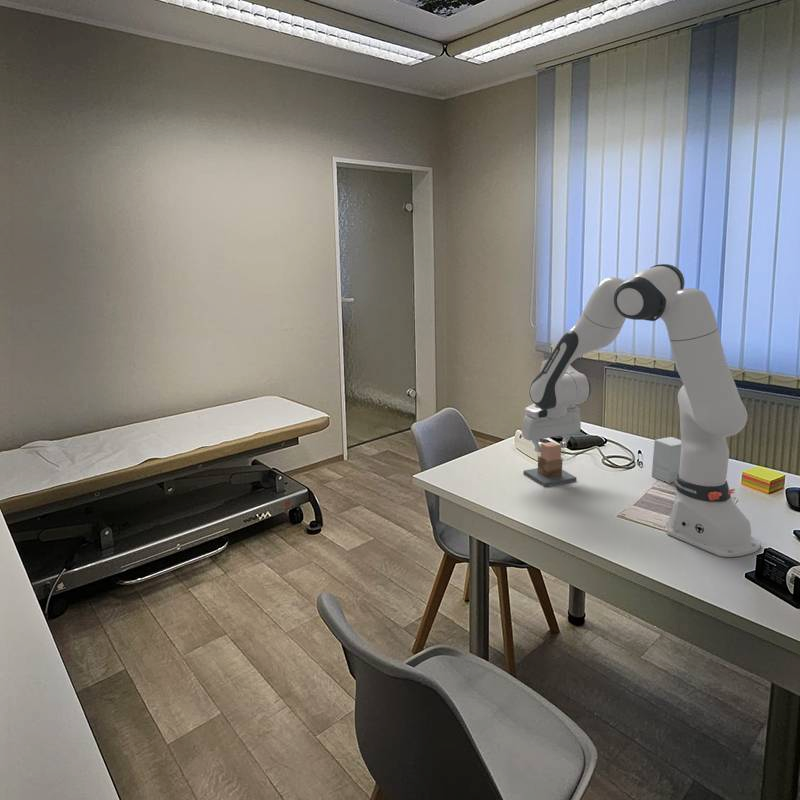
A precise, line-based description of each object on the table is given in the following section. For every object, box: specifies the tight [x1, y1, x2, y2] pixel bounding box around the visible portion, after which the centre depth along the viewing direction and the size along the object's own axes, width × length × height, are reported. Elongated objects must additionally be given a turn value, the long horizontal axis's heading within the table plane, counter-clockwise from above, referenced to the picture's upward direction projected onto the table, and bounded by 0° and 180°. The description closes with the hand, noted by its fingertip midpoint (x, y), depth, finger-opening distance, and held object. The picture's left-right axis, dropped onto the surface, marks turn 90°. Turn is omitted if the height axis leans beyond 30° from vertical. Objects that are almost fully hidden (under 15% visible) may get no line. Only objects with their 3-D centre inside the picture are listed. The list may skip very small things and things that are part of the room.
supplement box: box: [651, 436, 681, 484], centre depth 194 cm, size 7×7×13 cm
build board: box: [523, 467, 577, 488], centre depth 198 cm, size 12×12×1 cm
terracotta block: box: [540, 441, 562, 461], centre depth 196 cm, size 4×4×4 cm
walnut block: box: [537, 455, 564, 478], centre depth 198 cm, size 6×6×6 cm
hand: (550, 449), depth 196 cm, fingers open, 8 cm apart
